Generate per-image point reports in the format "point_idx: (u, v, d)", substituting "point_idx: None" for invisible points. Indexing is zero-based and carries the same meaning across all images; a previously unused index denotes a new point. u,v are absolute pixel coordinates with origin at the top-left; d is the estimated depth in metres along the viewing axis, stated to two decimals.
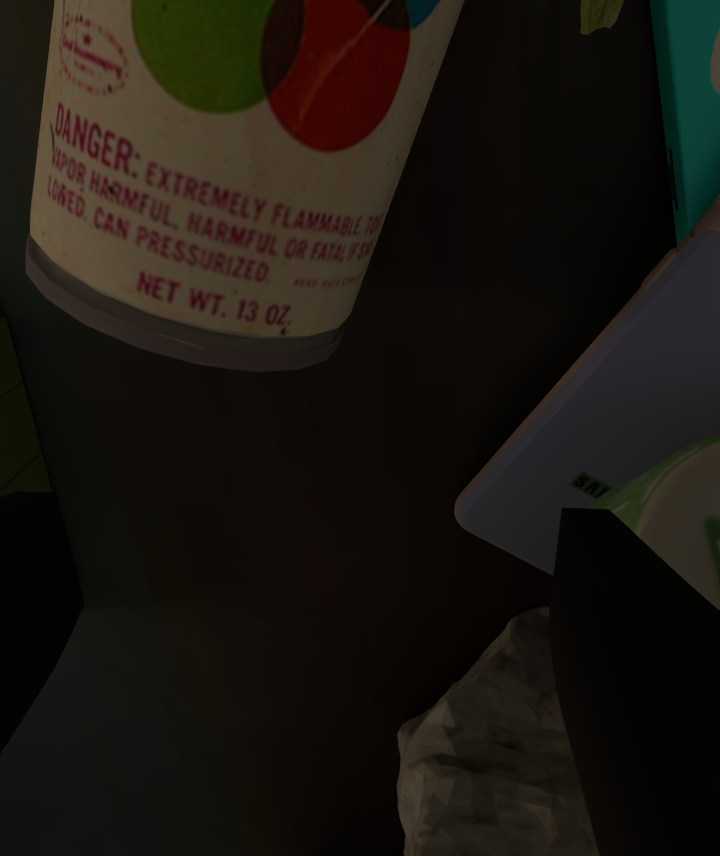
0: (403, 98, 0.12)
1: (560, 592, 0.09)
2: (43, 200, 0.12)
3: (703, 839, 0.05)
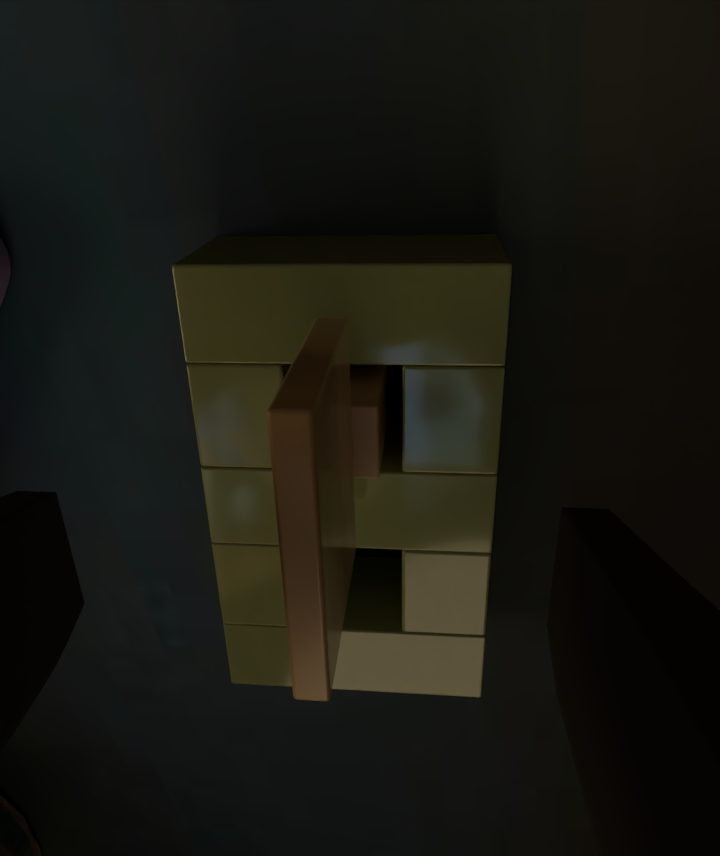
0: None
1: (560, 592, 0.09)
2: None
3: (703, 839, 0.05)
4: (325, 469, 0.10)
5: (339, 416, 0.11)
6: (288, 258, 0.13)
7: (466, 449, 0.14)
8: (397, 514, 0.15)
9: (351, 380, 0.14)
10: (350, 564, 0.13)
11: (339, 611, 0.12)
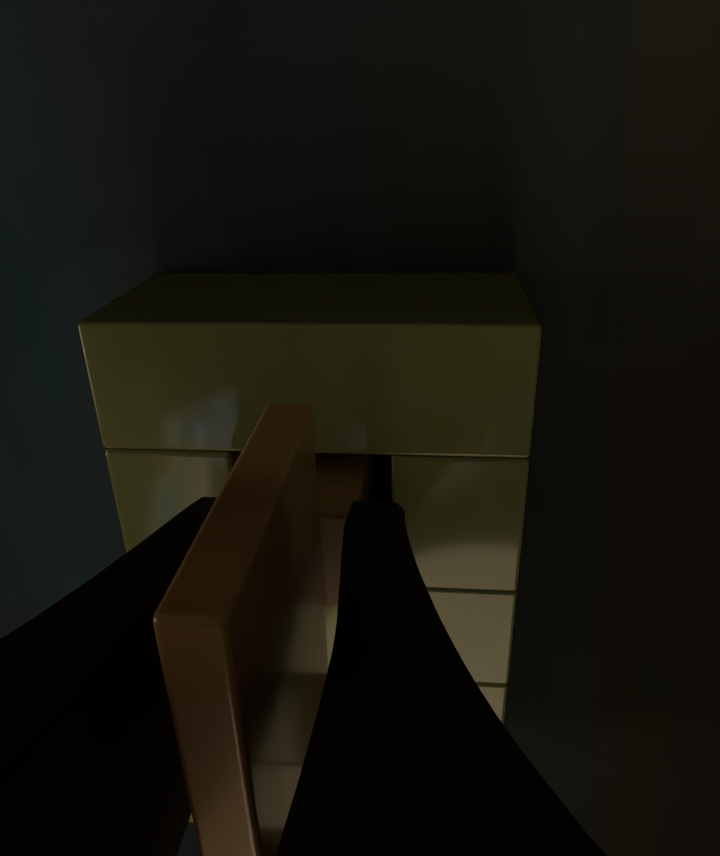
0: None
1: None
2: None
3: None
4: (263, 671, 0.06)
5: (294, 557, 0.08)
6: (237, 312, 0.10)
7: (476, 560, 0.11)
8: None
9: (322, 470, 0.10)
10: None
11: None
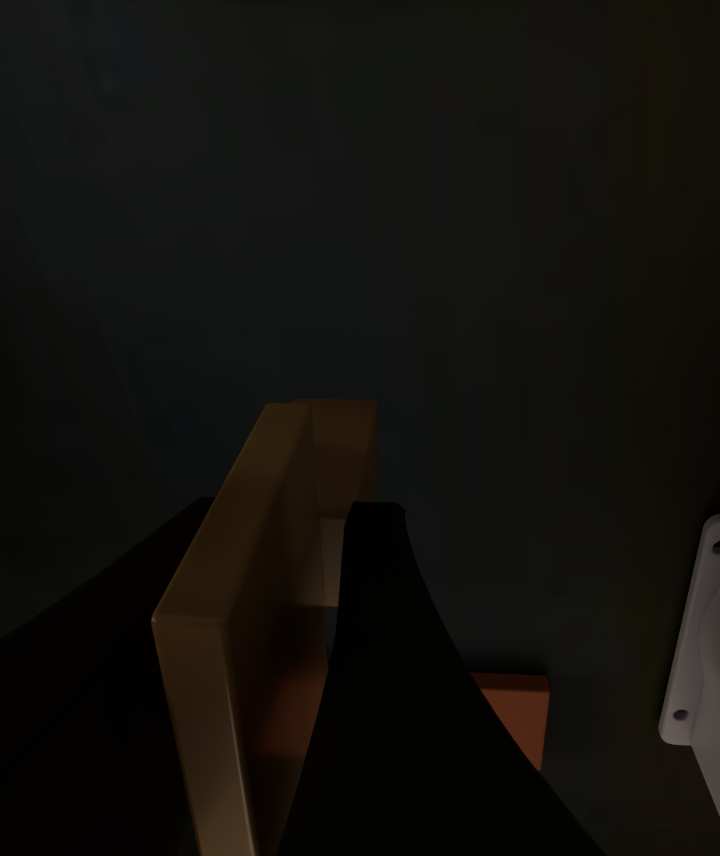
0: None
1: None
2: None
3: None
4: (262, 672, 0.06)
5: (294, 557, 0.08)
6: None
7: None
8: None
9: (322, 470, 0.10)
10: None
11: None
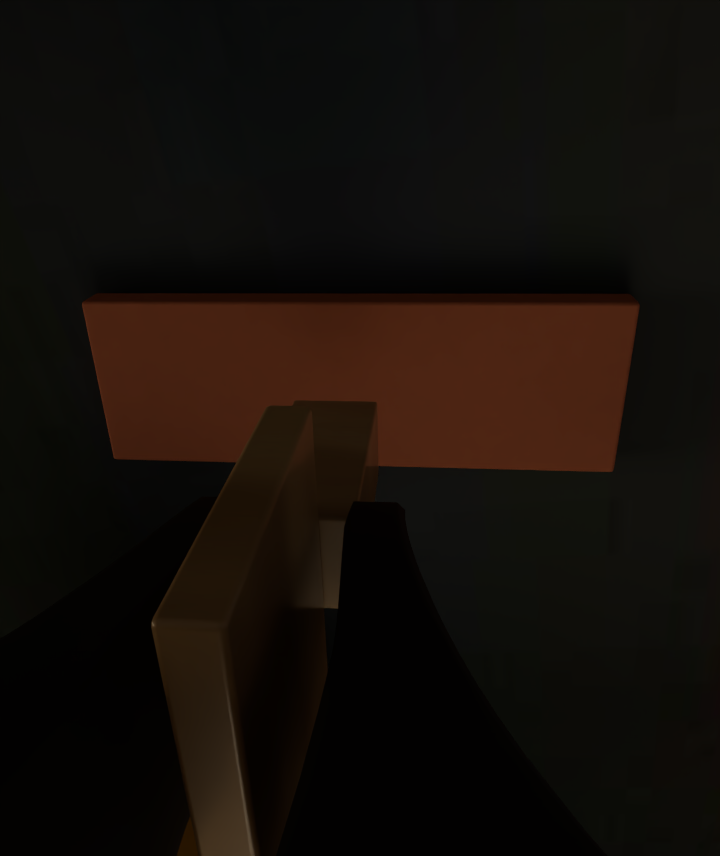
0: None
1: None
2: None
3: None
4: (262, 675, 0.06)
5: (294, 560, 0.08)
6: None
7: None
8: None
9: (322, 472, 0.10)
10: None
11: None
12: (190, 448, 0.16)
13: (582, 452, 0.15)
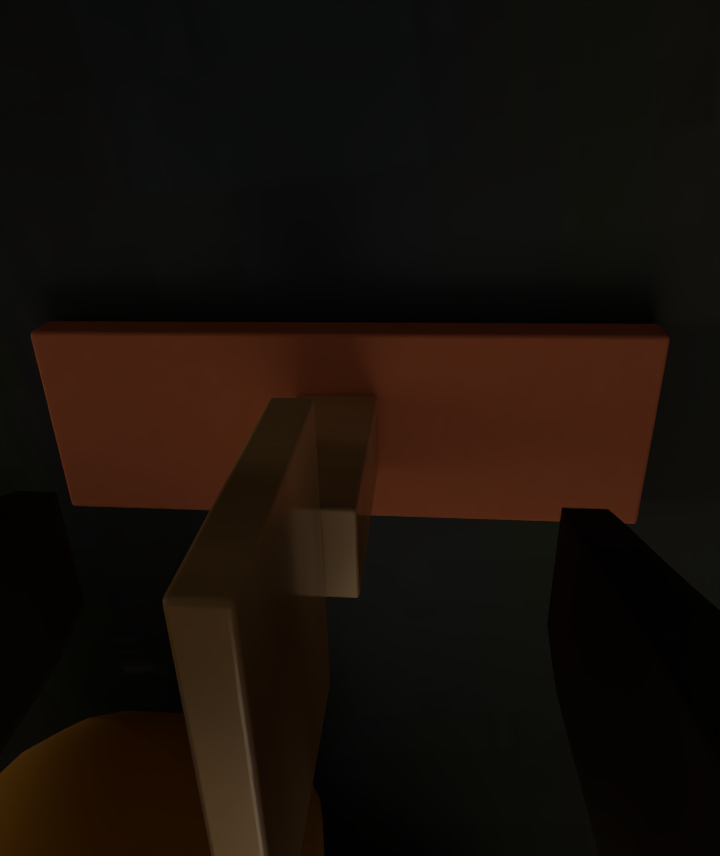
0: None
1: (560, 592, 0.09)
2: None
3: (703, 839, 0.05)
4: (267, 654, 0.06)
5: (297, 546, 0.08)
6: None
7: None
8: None
9: (323, 464, 0.11)
10: (320, 714, 0.10)
11: (300, 808, 0.08)
12: (157, 494, 0.15)
13: (601, 501, 0.14)
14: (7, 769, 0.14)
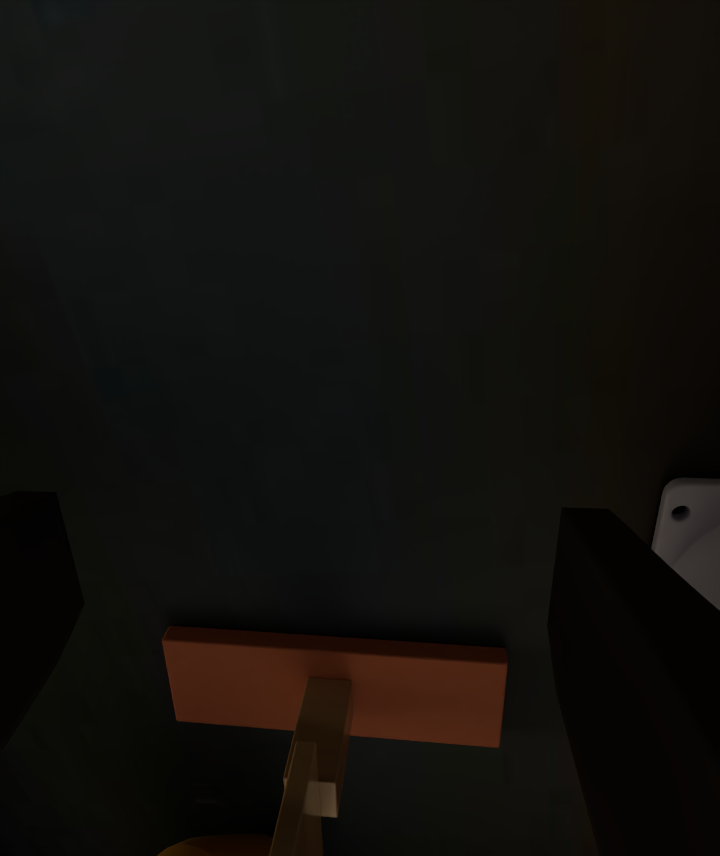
0: None
1: (560, 592, 0.09)
2: None
3: (703, 839, 0.05)
4: None
5: (307, 822, 0.18)
6: None
7: None
8: None
9: (321, 745, 0.21)
10: None
11: None
12: (227, 718, 0.25)
13: (478, 736, 0.24)
14: None
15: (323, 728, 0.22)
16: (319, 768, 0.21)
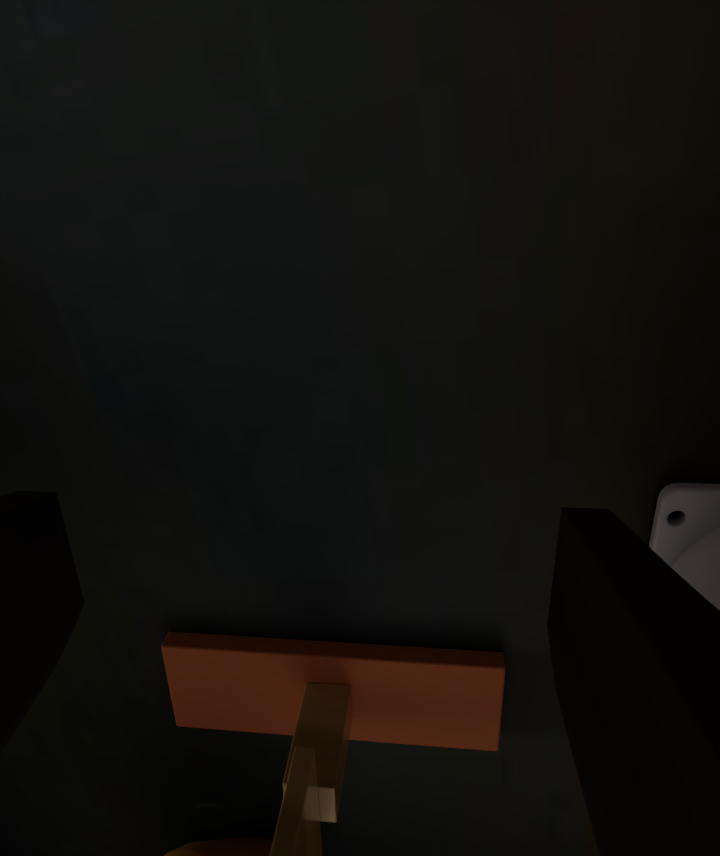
0: None
1: (560, 592, 0.09)
2: None
3: (703, 839, 0.05)
4: None
5: (306, 828, 0.19)
6: None
7: None
8: None
9: (320, 751, 0.21)
10: None
11: None
12: (226, 723, 0.25)
13: (477, 740, 0.24)
14: None
15: (322, 733, 0.22)
16: (318, 773, 0.21)
